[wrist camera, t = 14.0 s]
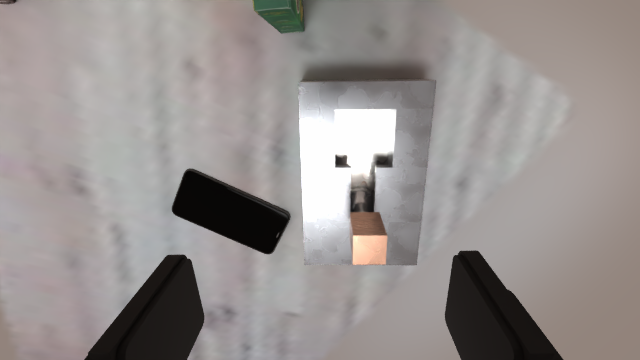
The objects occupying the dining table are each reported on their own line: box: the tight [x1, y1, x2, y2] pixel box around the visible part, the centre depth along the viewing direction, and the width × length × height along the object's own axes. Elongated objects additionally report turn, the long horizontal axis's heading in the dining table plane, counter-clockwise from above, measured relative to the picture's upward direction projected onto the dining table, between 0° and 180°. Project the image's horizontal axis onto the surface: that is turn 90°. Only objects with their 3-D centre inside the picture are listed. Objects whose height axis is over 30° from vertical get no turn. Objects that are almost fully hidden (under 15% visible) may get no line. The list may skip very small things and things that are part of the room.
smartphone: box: [172, 169, 290, 254], centre depth 42 cm, size 7×1×15 cm
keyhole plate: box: [298, 79, 436, 265], centre depth 38 cm, size 22×14×4 cm, turn 1°
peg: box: [350, 187, 387, 265], centre depth 35 cm, size 4×4×11 cm
